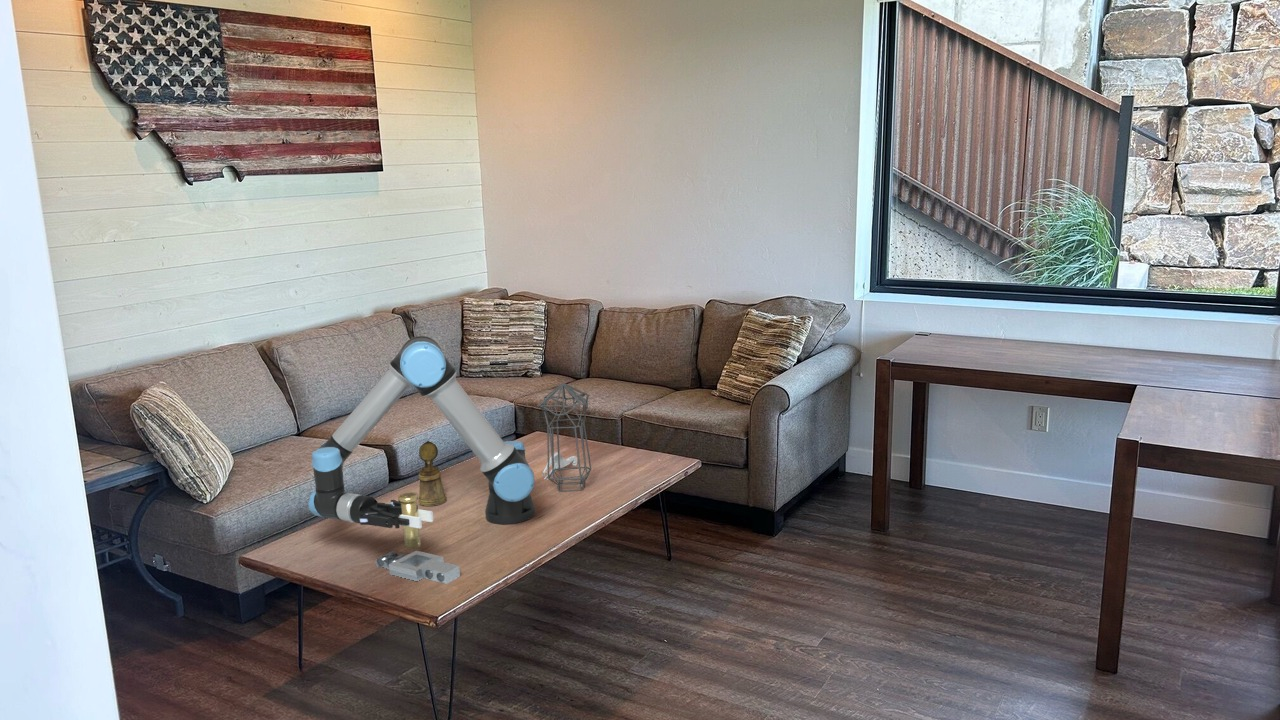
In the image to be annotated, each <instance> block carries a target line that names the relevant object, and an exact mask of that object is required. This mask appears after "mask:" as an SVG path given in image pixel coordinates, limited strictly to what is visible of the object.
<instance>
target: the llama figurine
mask: <svg viewBox="0 0 1280 720" xmlns="http://www.w3.org/2000/svg"><path fill="white" fill-rule="evenodd" d="M559 454H560V468H566V466H568V465H570V464H572V466H574V467H577V465H578V456H576V455H571V456H569V457H567V458H566V459H565V458H564V457H563V456H562V454H561V452H559ZM551 467H552V458H551V456H549V469H550V468H551ZM558 468H559V466H558V451H556V452H554V469H558ZM557 471H559V470H556V471H555V472H556V473H557ZM551 472H552V469H551V470H549V476H550V474H551ZM541 474H542V475H543V476H545V477H544V478H543V480H545V479H546V480H547V481H549V480H548V461H547V462H546V465H545V468H544V470H543V471H541ZM551 477H553V473H552V475H551Z"/></svg>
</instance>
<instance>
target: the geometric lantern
mask: <svg viewBox="0 0 1280 720" xmlns="http://www.w3.org/2000/svg"><path fill="white" fill-rule="evenodd" d="M565 390H566V391H567V392H568V394H569V395H570V396H571V397H566V392H565ZM558 391H559V392H558ZM557 392H558V394H557ZM579 393H580V394H579ZM556 394H557V396H555V395H556ZM585 396H586V397H585ZM584 397H585V398H584ZM589 397H590V394H589V393H586V392H584V391H582V390H580V389H578V388H576V387H574V386H572V385H569V384H567V383H565V382H564V383H561V384H559V385H558V386H556V387H555V388H554V389H553V390H551V391H550V392H549V393H547V394H546V395H545V396H544V397H543V400H542V401H541V402H540V403H539V404H538V405H537V406H538V408H539V409H540V410H542V411H543V413H544V417H545V422H546V426H547V427H546V428H547V429H546V430H547V431H546V433H547V436H546V438H547V439H546V440H547V441H546V442H547V462H548V466H547V470H548V472H547V474H548V477H547V479H548V480H547V481H550V482H552V483H554V484H556V485H557V491H558V492H575V491H576V492H577V491H578V492H579V491H583V490H584V489H585V484H586V483H585V482H586V480H587V479H588V478H589V475H590V473H591V471H592V462H591V455H590V451H589V443H588V438H587V436H588V435H587V431H586V430H587V429H586V423H585V421H586V416H587V412H588V408H589V407H588V406H589V405H588V404H589ZM559 399H561V400H562V402H561V401H559ZM550 400H552V401H554V402H555V403H554V404H547V403H548V402H549V401H550ZM567 400H572V404H567ZM580 406H582V410H581V411H580V415H579V414H578V413H577V412H576V410H575V409H576V408H578V407H580ZM547 407H549V408H554V411H553V410H552V409H549V408H547ZM558 407H559V408H560V407H561V408H562V409H561V410H560V412H559V413H558V410H557V408H558ZM570 407H571V408H570ZM565 408H570V409H569V410H567V411H566V409H565ZM563 411H564V412H563ZM572 411H574V413H575V414H576V416H577V417H578V418H571V417H570V415H569V413H570V412H572ZM583 412H584V415H583V418H582V414H583ZM549 413H551V414H553V416H554V417H553V418H552V417H551V415H550V414H549ZM561 416H566V417H567V418H564V419H560V417H561ZM548 417H549V419H550V423H549V421H548ZM556 417H557V418H556ZM577 420H578V423H577V425H576V424H575V422H574V421H577ZM561 421H563V422H564V421H570V422H571V424H572V425H573V426H559V422H561ZM554 422H555V423H556V426H555V427H554ZM577 428H579V434H580V435H579V436H580V442H581V449H582V455H583V466H581V459H580V453H579V452H580V451H579V443H578V434H577V433H578V432H577ZM555 429H556V437H557V439H556V440H557V453H558V466H559V468H558V469H554V454H555V451H554V450H555V449H554V448H555V444H554V439H555V438H554V430H555ZM559 429H574V436H575V437H574V438H575V445H576V454H577V456H576V457H577V465H578V466H573V467H562V468H560V454H561V453H560V436H559V435H560V434H559V433H560V432H559ZM584 438H585V439H584ZM585 444H586V445H585ZM585 446H586V449H585ZM586 452H587V458H588V464H589V467H588V466H587V461H586ZM559 453H560V454H559ZM550 455H551V456H550ZM550 457H551V458H552V464H551V470H552V472H551V474H550V475H549V472H550V468H549V465H550V463H549V461H550ZM577 469H578V472H579V476H578V475H577V476H567V477H564V476H563V477H562V472H561V471H563V470H577ZM582 469H583V471H581V470H582ZM556 470H558V471H559V472H558V473H559V475H558V474H557V471H556ZM555 471H556V472H555ZM552 473H553V475H552ZM584 473H585V474H584ZM551 475H552V476H551ZM555 475H556V477H557V478H555ZM572 485H573V486H575V485H576V486H577V485H579V489H567V490H566V489H564V490H563V488H562V486H572Z"/></svg>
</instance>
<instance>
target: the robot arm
mask: <svg viewBox="0 0 1280 720" xmlns="http://www.w3.org/2000/svg"><path fill="white" fill-rule="evenodd" d="M388 366H389V369H388V370H387V372H385V374H384V375H383V376H382V377H381V378H380V380H378V382H377V383H376V384H375V385H374V387H373V388H372V389H371V390H370V391H369V392H368V393H367V395H365V397H364V398H363V399H362V400H361V401H360V403H358V405H357V406H356V407H355V408H354V409H353V411H352V412H351V413H350V414H349V415H348V416H347V417H346V418H345V420H344V421H343V422H342V423H341V424H340V425H339V427H338V428H337V429H336V430H335V431H334V432H333V434H332V435H331V436H330V437H329V438H328V440H326V441H324V442H322V444H320V446H319V447H318V448H317V449H315V450H314V451H313V452H312V453H311V462H312V463H311V466H312V470H313V478H314V479H313V480H314V484H315V490H314V491H312V493H311V494H310V495H309V500H308V503H307V504H308V505H307V506H308V509H309V511H310V513H311V514H312V515H315V516H316V517H321V518H324V519H333V520H339V521H344V522H350V523H351V524H353V523H355V524H360V526H373V527H374V526H375V527H381V528H387V529H392V528H393V526H394V527H395V529H397V530H398V529H400V526H402V527H403V526H408V527H414V528H419V529H422V528H423V526H422V525H423V523H422V521H423V522H428V523H429V522H430V523H433V522H434V513H433V510H425V509H420V508H419V506H418V504H417V513H418V517H414V516H408V515H402V511H401V503H400V502H399V501H397V500H396V499H391V500H390V503H385V502H378V500H376V498H375V497H373V496H369V495H363V494H362V495H361V494H359V493H358V494H357V493H351V492H350V493H349V492H345V483H344V482H345V481H344V472H343V469H344V463H345V461H346V460H347V459H348V458H349V457H350V456H351V455H352V453H353V452H354V451H355V449H356V448H358V446H359V445H360V444H361V443H362V441H363V440H364V439H365V438H366V437H367V436H368V435H369V433H370V432H371V431H372V430H373V429H374V428H375V427H376V426H377V425H378V423H380V421H381V420H382V419H383V417H384V416H386V414H387V413H388V412H389V410H391V408H392V407H393V406H394V405H396V402H398V401H399V399H400V398H401V397H402V396H403V395H404V394H405V393H406V391H407V390H408V389H409V388H410V387H412V386H413V387H414V388H415V389H416V391H417V392H418V393H419V394H420V395H421V396H422V397H423V398H430V400H432V402H433V403H434V404H435V405H436V407H437V408H438V409H439V411H440V412H441V413H442V414H443V417H445V418H446V419H447V420H448V422H449V424H451V426H452V427H453V429H454V430H455V431H456V432H457V434H458V435H459V436H460V437H461V439H462V440H463V442H465V444H466V445H467V446H468V448H469V449H470V450H471V452H472V453H473V455H475V457H476V458H477V460H479V461H480V472H481V473H482V474H483V475H484V477H485V479H486V480H487V481H488V482H487V483H488V490H489V491H488V492H489V493H488V498H487V502H486V506H485V509H484V511H485V519H486V521H487V522H490V523H493V524H498V525H511V524H512V525H513V524H517V523H522V522H525V521H529V520H530V519H532V518H533V517H534V516H535V515H536V506H535V503H534V501H533V497H532V496H531V493H532V491H533V489H534V487H535V473H534V472H533V469H532V468H531V466H530V464H529V463H528V461H527V459H526V453H525V452H526V448H525V444H524V443H523V441H520V440H507V441H504V440H503V438H501V436H500V435H499V433H497V431H496V430H495V429H494V428H493V426H492V424H491V423H490V422H489V420H487V418H486V417H485V415H483V413H482V412H481V410H480V409H479V407H478V406H477V405H476V404H475V403H474V401H473V400H472V399H471V397H470V396H469V395H468V394H467V392H466V391H465V389H464V388H463V387H462V386H461V384H460V383H459V381H458V380H457V379H456V377H457V370H456V368H455V367H454V366H453V365H452V363H451V362H450V361H449V360H448V358H447V357H446V356H445V354H444V352H442V348H441V346H440V345H439V343H438V342H437V341H436V340H435V339H433V338H431V337H428V336H427V335H426V336H425V335H417V336H413V337H411V338H409V339H408V340H407V341H406V342H404V344H403V345H402V347H401V349H400V350H399V351H398V352H397V354H396V355H395V357H394V358H393V359H392V360H391V361H390V363H389V365H388Z"/></svg>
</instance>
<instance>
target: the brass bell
mask: <svg viewBox="0 0 1280 720" xmlns="http://www.w3.org/2000/svg"><path fill="white" fill-rule="evenodd" d="M438 453H439V449H438V447H437V445H436V444H435V443H433V442H432V441H429V440H427V441H425V442H424V443H423V444H422V445H420V447H419V450H418V455H419V458H420V459H421V460H422V461H423V463H424V467H422V468H420V469H419V473H418V479H419V492H418V493H419V495H418V504H419V503H420V504H421V505H420V504H419V505H420V506H422V505H424V506H423V507H435V506H434V505H436V506H438V505H442V504H444V503H446V502H447V500H448V499H447V494H446V493H445V491H444V490H445V489H444V486H443V482H442V478H441V477H442V475H441V471H440V469H439V467H438V466H434V460H435V459H436V458H437V457H438Z"/></svg>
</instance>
